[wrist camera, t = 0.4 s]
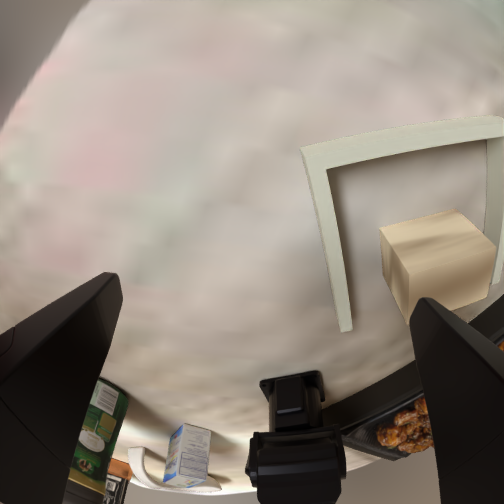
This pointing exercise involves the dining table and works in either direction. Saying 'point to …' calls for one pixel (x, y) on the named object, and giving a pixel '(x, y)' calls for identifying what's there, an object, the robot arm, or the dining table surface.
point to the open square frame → (393, 142)
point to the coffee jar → (96, 445)
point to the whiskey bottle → (117, 482)
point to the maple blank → (436, 261)
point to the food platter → (399, 404)
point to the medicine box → (188, 457)
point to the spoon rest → (139, 470)
